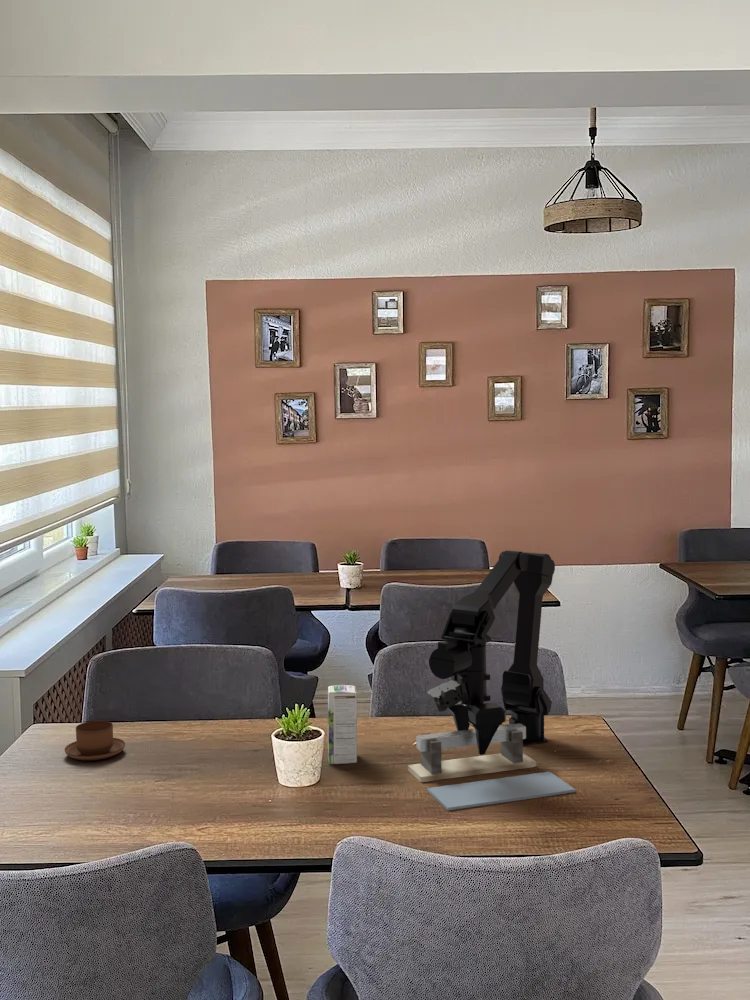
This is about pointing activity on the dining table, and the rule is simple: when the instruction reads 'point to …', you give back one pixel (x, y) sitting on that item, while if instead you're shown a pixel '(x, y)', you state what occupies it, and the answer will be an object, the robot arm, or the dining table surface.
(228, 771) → the dining table surface
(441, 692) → the robot arm
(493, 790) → the mat
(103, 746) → the cup and saucer
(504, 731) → the rail
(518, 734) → the rail stand
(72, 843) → the dining table surface
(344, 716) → the syrup box
